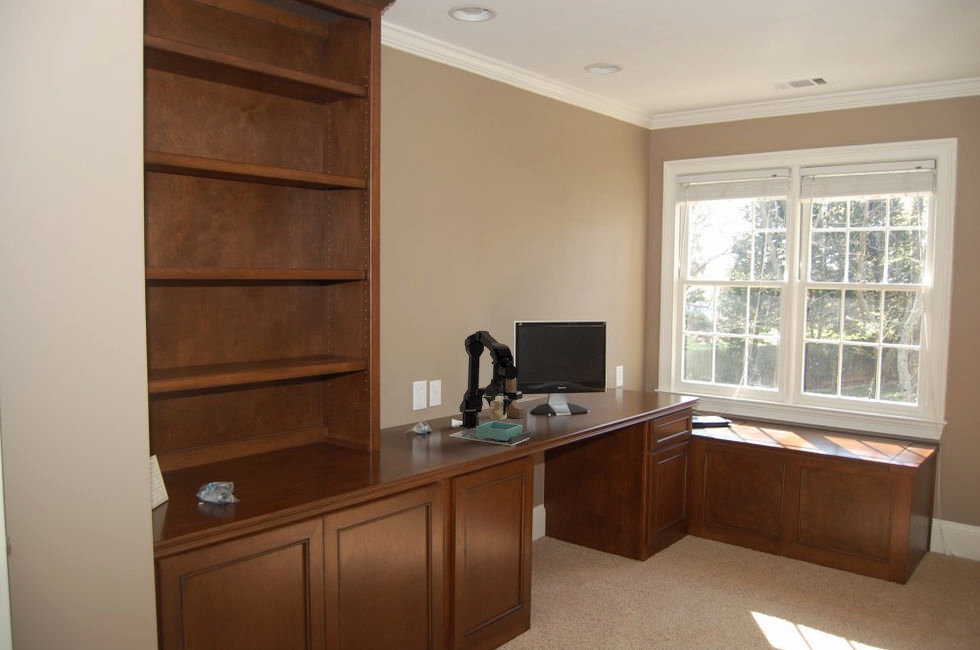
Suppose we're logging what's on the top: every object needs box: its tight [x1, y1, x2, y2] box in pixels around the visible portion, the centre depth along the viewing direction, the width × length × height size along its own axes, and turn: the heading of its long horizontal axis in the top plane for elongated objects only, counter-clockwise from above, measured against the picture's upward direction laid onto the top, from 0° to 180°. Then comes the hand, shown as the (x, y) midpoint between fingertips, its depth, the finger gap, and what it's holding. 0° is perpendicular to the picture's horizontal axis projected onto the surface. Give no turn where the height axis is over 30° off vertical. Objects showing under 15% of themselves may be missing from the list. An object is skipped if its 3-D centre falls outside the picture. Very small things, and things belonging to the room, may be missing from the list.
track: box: [448, 428, 531, 447], centre depth 312 cm, size 29×16×3 cm, turn 61°
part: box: [489, 399, 508, 421], centre depth 309 cm, size 5×5×7 cm
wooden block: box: [503, 378, 525, 420], centre depth 360 cm, size 9×4×18 cm, turn 56°
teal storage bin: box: [475, 420, 523, 441], centre depth 309 cm, size 14×14×5 cm
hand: (498, 414), depth 309 cm, fingers closed on part, 5 cm apart
